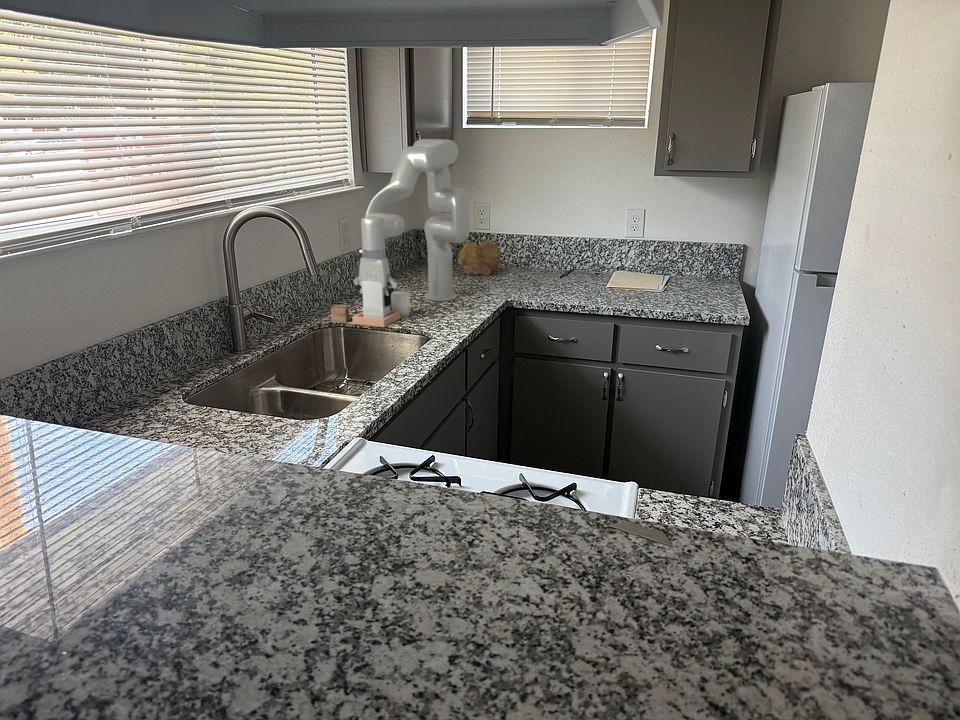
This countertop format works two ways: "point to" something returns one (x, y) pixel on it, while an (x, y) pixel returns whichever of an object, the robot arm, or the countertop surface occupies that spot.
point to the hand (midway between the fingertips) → (376, 304)
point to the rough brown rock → (479, 258)
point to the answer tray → (376, 319)
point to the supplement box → (374, 300)
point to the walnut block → (340, 313)
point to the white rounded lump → (401, 302)
